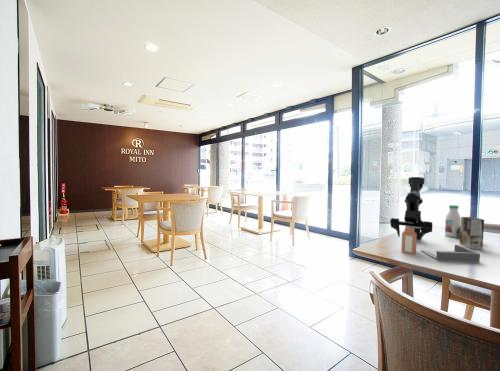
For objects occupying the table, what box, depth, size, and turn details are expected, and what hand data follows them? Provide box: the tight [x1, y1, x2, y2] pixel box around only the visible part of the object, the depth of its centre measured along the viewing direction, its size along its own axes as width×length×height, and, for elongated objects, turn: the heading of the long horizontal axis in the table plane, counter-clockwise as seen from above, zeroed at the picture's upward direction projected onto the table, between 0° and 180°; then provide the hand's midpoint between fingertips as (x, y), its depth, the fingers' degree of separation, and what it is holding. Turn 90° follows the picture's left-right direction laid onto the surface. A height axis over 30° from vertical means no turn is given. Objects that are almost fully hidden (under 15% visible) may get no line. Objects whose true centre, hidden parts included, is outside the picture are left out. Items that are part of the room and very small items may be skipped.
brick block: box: [400, 226, 418, 256], centre depth 132 cm, size 6×6×12 cm
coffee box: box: [459, 216, 485, 250], centre depth 142 cm, size 9×6×16 cm
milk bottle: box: [444, 204, 461, 238], centre depth 165 cm, size 8×8×20 cm
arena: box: [421, 244, 481, 264], centre depth 125 cm, size 14×18×4 cm
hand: (409, 238), depth 131 cm, fingers open, 9 cm apart
